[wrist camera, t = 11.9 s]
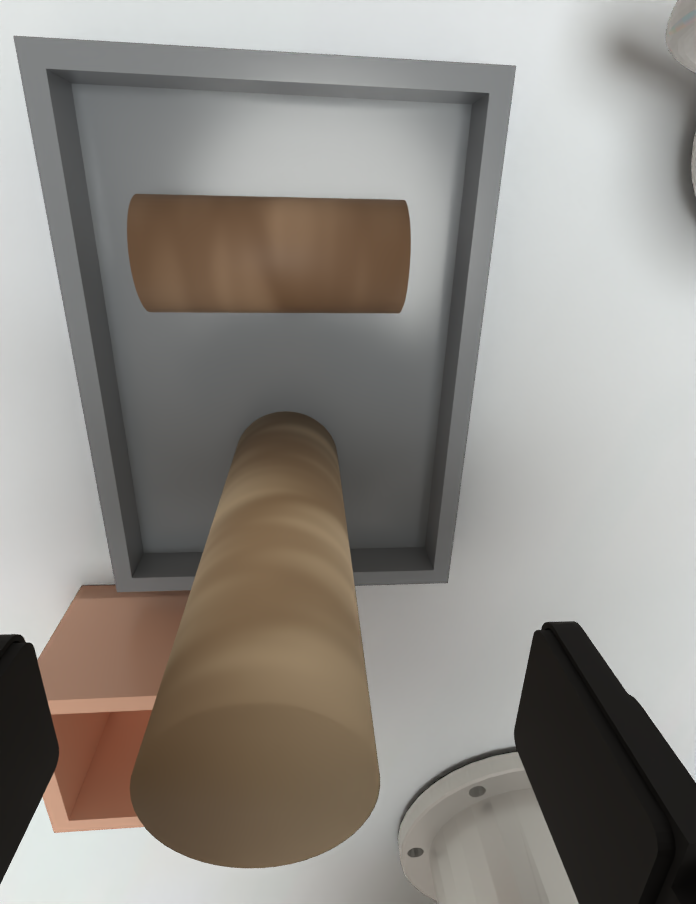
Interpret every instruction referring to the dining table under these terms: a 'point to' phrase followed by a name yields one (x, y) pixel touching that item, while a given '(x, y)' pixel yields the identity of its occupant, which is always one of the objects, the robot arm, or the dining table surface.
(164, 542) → the tray
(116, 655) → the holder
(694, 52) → the cup
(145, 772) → the oak dowel
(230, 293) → the walnut dowel
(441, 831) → the robot arm
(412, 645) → the dining table surface
